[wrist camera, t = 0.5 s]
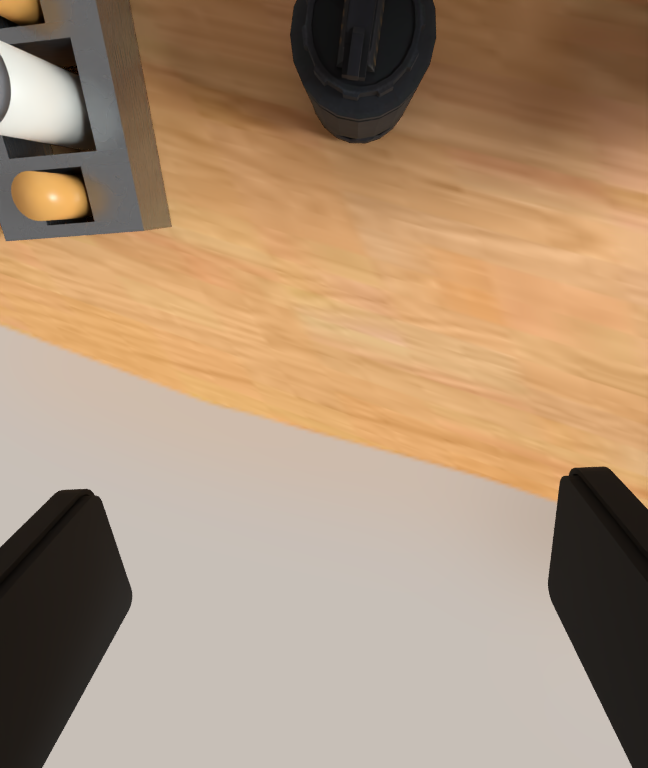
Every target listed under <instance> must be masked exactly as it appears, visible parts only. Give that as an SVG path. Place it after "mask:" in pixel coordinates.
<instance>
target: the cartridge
mask: <svg viewBox="0 0 648 768" xmlns="http://www.w3.org/2000/svg"><path fill="white" fill-rule="evenodd" d="M0 135H3V136H9V137H14V138H20V139H25V140H31V141H36V142H42V143H47V144H53V145H58V146H64V147H69V148H75V149H80V150H86V151H92V150H96V146H95V141H94V137H93V133H92V128H91V124H90V120H89V116H88V111H87V107H86V103H85V98H84V94H83V90H82V85H81V81H80V77H79V76H78V75H76V74H74V73H72V72H69V71H67V70H65V69H63V68H61V67H58V66H56V65H54V64H52V63H49V62H47V61H45V60H43V59H40V58H38V57H36V56H34V55H32V54H29V53H27V52H25V51H23V50H20V49H18V48H16V47H14V46H11V45H9V44H7V43H5V42H3V41H0Z"/></svg>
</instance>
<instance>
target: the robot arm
mask: <svg viewBox="0 0 648 768" xmlns="http://www.w3.org/2000/svg"><path fill="white" fill-rule="evenodd" d="M548 589H549V594H550V598H551V601H552V603H553V605H554V607H555V609H556V611H557V614H558V616H559V618H560V620H561V622H562V624H563V626H564V628H565V630H566V632H567V634H568V636H569V638H570V640H571V642H572V644H573V646H574V648H575V651H576V653H577V655H578V657H579V659H580V661H581V663H582V665H583V667H584V669H585V671H586V673H587V675H588V677H589V679H590V681H591V683H592V686H593V688H594V690H595V692H596V694H597V696H598V698H599V700H600V702H601V704H602V706H603V708H604V710H605V712H606V714H607V716H608V718H609V720H610V722H611V725H612V727H613V729H614V731H615V733H616V735H617V737H618V739H619V741H620V743H621V745H622V747H623V749H624V751H625V753H626V755H627V757H628V759H629V761H630V763H631V765H632V768H648V509H647V508H646V507H645V506H644V505H643V504H642V503H641V502H640V501H639V500H638V499H637V497H636V496H635V495H634V494H633V493H632V492H631V491H630V490H629V489H628V488H627V487H626V486H625V485H624V484H623V483H622V481H621V480H620V479H619V478H618V477H617V476H616V475H615V474H614V473H613V472H612V471H611V470H610V469H609V468H607V467H584V468H573V469H571V471H570V473H569V476H563V477H562V478H561V480H560V486H559V494H558V503H557V511H556V520H555V528H554V536H553V544H552V553H551V561H550V569H549V578H548ZM131 602H132V590H131V587H130V584H129V581H128V578H127V575H126V572H125V569H124V566H123V563H122V560H121V557H120V554H119V551H118V548H117V545H116V542H115V539H114V536H113V533H112V530H111V527H110V524H109V521H108V518H107V515H106V512H105V509H104V506H103V503H102V501H101V499H100V498H99V497H98V496H95V495H94V493H93V492H92V491H91V490H88V489H74V490H61V491H58V492H57V493H55V494H54V495H53V496H52V497H51V498H50V499H49V500H48V501H47V502H46V503H45V504H44V505H43V506H42V507H41V508H40V509H39V510H38V511H37V512H36V513H35V514H34V515H33V516H32V517H31V518H30V519H29V520H28V521H27V522H26V523H25V524H24V525H23V526H22V527H21V528H20V529H18V530H17V531H16V533H14V534H13V535H12V536H11V537H10V538H9V539H8V540H7V541H6V542H5V543H4V544H3V545H2V546H1V547H0V768H42V767H43V765H44V763H45V762H46V760H47V758H48V756H49V754H50V752H51V751H52V749H53V747H54V745H55V743H56V742H57V740H58V738H59V736H60V734H61V732H62V731H63V729H64V727H65V725H66V723H67V721H68V720H69V718H70V716H71V714H72V712H73V711H74V709H75V707H76V705H77V703H78V701H79V700H80V698H81V696H82V694H83V692H84V691H85V689H86V687H87V685H88V683H89V682H90V680H91V678H92V676H93V674H94V672H95V671H96V669H97V667H98V665H99V663H100V662H101V660H102V658H103V656H104V654H105V652H106V651H107V649H108V647H109V645H110V643H111V642H112V640H113V638H114V636H115V634H116V632H117V631H118V629H119V627H120V625H121V623H122V621H123V619H124V618H125V616H126V614H127V612H128V611H129V608H130V606H131Z"/></svg>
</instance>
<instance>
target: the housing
mask: <svg viewBox="0 0 648 768" xmlns="http://www.w3.org/2000/svg"><path fill="white" fill-rule="evenodd" d="M40 3H41V7H42V11H43V15H44V19H45V23H43V24H35V25H27V26H19V25H18V24H16V23H14V22H12V21H10V20H8V19H6V18H4V17H2V16H0V41H3V42H5V43H7V44H9V45H11V46H14V47H16V48H18V49H20V50H23V51H25V52H27V53H29V54H32V55H34V56H36V57H38V58H40V59H43V60H45V61H47V62H49V63H52V64H54V65H56V66H58V67H65V66H74V65H77V68H78V73H79V77H80V81H81V85H82V90H83V94H84V98H85V103H86V107H87V111H88V116H89V120H90V124H91V128H92V133H93V137H94V141H95V146H96V150H97V151H89V152H79V153H68V154H57V155H53V151H52V147H51V144H47V143H42V142H36V141H31V140H25V139H20V138H14V137H9V136H3V135H0V224H1V227H2V230H3V233H4V236H5V239H6V241H15V240H28V239H41V238H54V237H68V236H81V235H94V234H107V233H120V232H133V231H145V230H152V229H159V228H166V227H172V225H171V220H170V215H169V209H168V204H167V199H166V194H165V188H164V183H163V178H162V172H161V167H160V162H159V156H158V151H157V146H156V140H155V135H154V130H153V124H152V119H151V114H150V108H149V103H148V98H147V92H146V87H145V82H144V77H143V71H142V66H141V61H140V55H139V50H138V45H137V39H136V34H135V29H134V23H133V18H132V13H131V7H130V2H129V0H40ZM24 171H36V172H48V173H59V174H70V175H77V174H83V177H84V181H85V185H86V189H87V193H88V197H89V201H90V205H91V209H92V213H93V217H94V221H95V222H87V219H86V218H77V219H62V220H48V221H35V220H32V219H29V218H28V217H26V216H25V215H23V214H22V213H21V212H20V211H19V210H18V208H17V207H16V205H15V203H14V201H13V198H12V194H11V185H12V182H13V180H14V178H15V177H16V176H17V175H18V174H19V173H21V172H24Z"/></svg>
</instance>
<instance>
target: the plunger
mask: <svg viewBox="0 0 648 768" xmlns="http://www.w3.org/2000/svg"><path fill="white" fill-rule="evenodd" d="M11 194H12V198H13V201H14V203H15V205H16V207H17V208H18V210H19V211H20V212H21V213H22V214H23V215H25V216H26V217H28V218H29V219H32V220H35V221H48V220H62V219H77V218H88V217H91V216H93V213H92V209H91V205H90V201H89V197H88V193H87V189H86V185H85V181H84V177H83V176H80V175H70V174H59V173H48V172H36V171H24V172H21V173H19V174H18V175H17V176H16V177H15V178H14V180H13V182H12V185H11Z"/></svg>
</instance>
